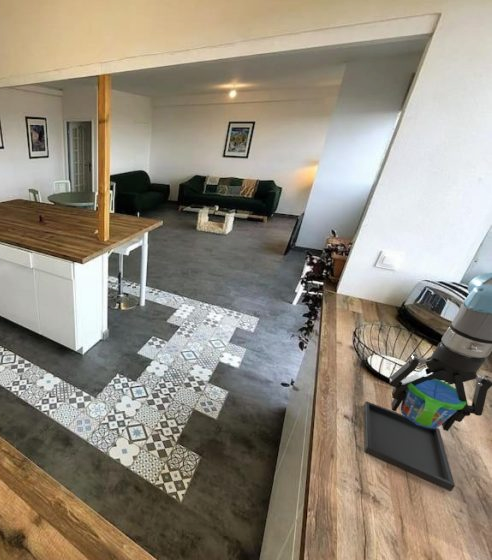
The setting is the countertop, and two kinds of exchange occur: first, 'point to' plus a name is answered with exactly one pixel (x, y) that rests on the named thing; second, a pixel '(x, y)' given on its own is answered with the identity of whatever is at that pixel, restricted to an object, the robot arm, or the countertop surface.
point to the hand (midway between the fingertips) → (418, 416)
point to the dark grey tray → (406, 445)
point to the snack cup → (430, 403)
